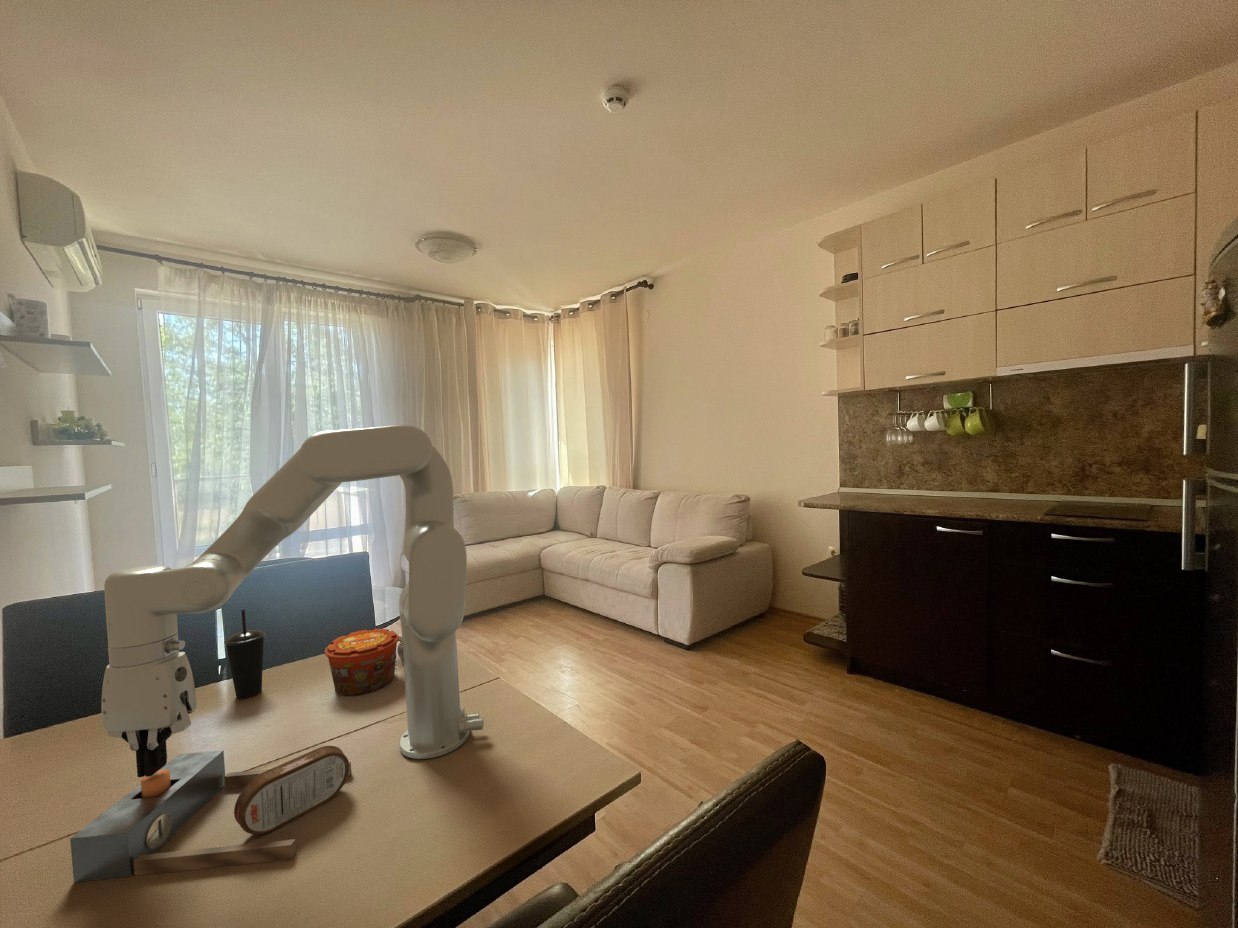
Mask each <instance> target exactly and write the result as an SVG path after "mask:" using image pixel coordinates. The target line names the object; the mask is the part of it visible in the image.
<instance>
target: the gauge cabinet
mask: <svg viewBox="0 0 1238 928" xmlns="http://www.w3.org/2000/svg"><path fill="white" fill-rule="evenodd" d="M224 753H225V751H224V749H222V750H211V751H200V752H189V753H188V752H187V753H179V754H178V755H176V756H175V757H173V758H172V759H171V760H170V761H168V762H167V763H166V765H165V766H164V767H162V768H161V769H169V770H170V782H171V788H169V789H168V790H167V791H166V792H165V793H163V794H162V795H161V796H160V797H152V798H142V793H141V783H140V784H139V785H137V786H136V787H135V788H133V789H132V790H131V791H129V792H128V793H127V794H126V795H124V796H123V797H122V798H121V799H119V800H118V801H116V802H115V803H114V804H113V805H111V806H110V807H109V808H108V809H107V810H105V811H104V812H102V813H101V814H100V815H98V816H97V817H96V818H95V819H92V821H91V822H90V823H88V824H87V825H86V826H84V827H83V828H82V829H79V831H78V832H77V833H75V834H74V835H72V836H71V837H70V840H69V843H70V850H71V851H70V852H71V862H72V863H71V864H72V877H73V883H80V882H90V881H91V882H92V881H100V880H106V879H108V880H109V879H119V878H125V877H132V876H133V875H135V871H134V861H135V860H136V859H137V858H138V857H139V856H140V855H147V854H157V853H158V850H160V849H162V847H163V846H164V845H165V844H166V843H168V841H169V840H170V839H171V838H172V837H173V836H174V835H176V834H177V833H178V832H179V831H180V829H181V828H183V827H184V826H185V825H186V824H187V823H188V822H189V821H190V820H191V819H192V818H193V817H194V816H195V815H196V814H197V813H198V812H200V811H201V809H203V807H205V805H206V804H208V803H209V801H211V800H212V799H213V798H214V797H215V796H216V795H217V794H218V793H219V792H220V791H221V790H223V788H225V783H224V776H226V767H225V754H224ZM161 769H160V770H161ZM156 852H157V853H156Z"/></svg>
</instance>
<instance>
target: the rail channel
mask: <svg viewBox="0 0 1238 928" xmlns="http://www.w3.org/2000/svg"><path fill="white" fill-rule="evenodd" d="M269 769H270V768H268V769H257V770H245V771H237V772H234V771H233V772H228V773H226V774H225V776H224V783H225V786H224V789H232V788H233V789H234V788H242V787H243V788H245V787H246V786H247V785H248V784H249V783H250V782H251V781H252V780H253V779H254V778H255V777H257V776H258V775H260V774H261V773H263V772H265V771H267V770H269ZM351 775H352V762H351V761H349V773H348V777H347V778H350V776H351ZM296 846H297V845H296V838H294V839H284V840H283V839H282V840H275V841H273V840H272V841H263V842H255V843H254V842H253V843H246V844H245V843H244V844H235V845H225V846H217V847H216V846H215V847H207V848H205V847H204V848H197V849H196V848H195V849H188V850H187V849H186V850H178V851H168V852H166V851H165V852H159V853H158V852H157V853H155V854H147V855H140V856H139V857H138V858H137V859H136V860H135V861H134V871H135V873H134V876H145V875H146V876H147V875H154V874H155V875H156V874H165V873H174V872H182V871H193V870H201V869H202V870H203V869H211V868H212V869H213V868H220V867H230V866H239V865H248V864H249V865H250V864H258V863H259V864H260V863H268V862H276V861H286V860H292V859H293V858H294V857H295V856H296V854H297V847H296Z"/></svg>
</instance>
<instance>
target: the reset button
mask: <svg viewBox="0 0 1238 928" xmlns="http://www.w3.org/2000/svg"><path fill="white" fill-rule="evenodd" d="M140 784H141V793H142V798H152V797H160V796H161V795H162V794H163V793H165V792H166V791H167V790H168V789H169V788H171V782H170V770H169V769H161V770H158V771H157V772H156V773H154V774H153V775H152V776H149V777H146V776H144V777H141V779H140Z"/></svg>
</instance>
